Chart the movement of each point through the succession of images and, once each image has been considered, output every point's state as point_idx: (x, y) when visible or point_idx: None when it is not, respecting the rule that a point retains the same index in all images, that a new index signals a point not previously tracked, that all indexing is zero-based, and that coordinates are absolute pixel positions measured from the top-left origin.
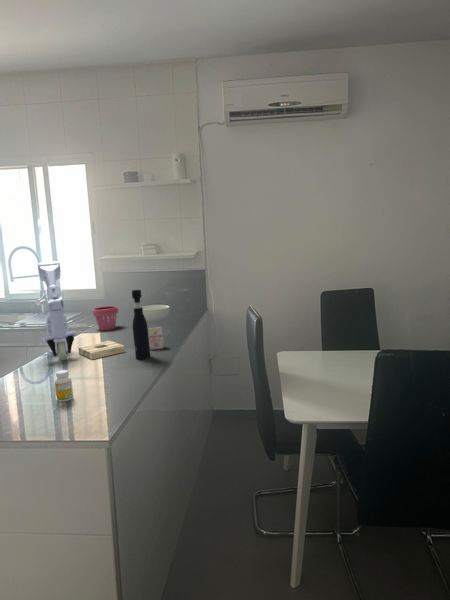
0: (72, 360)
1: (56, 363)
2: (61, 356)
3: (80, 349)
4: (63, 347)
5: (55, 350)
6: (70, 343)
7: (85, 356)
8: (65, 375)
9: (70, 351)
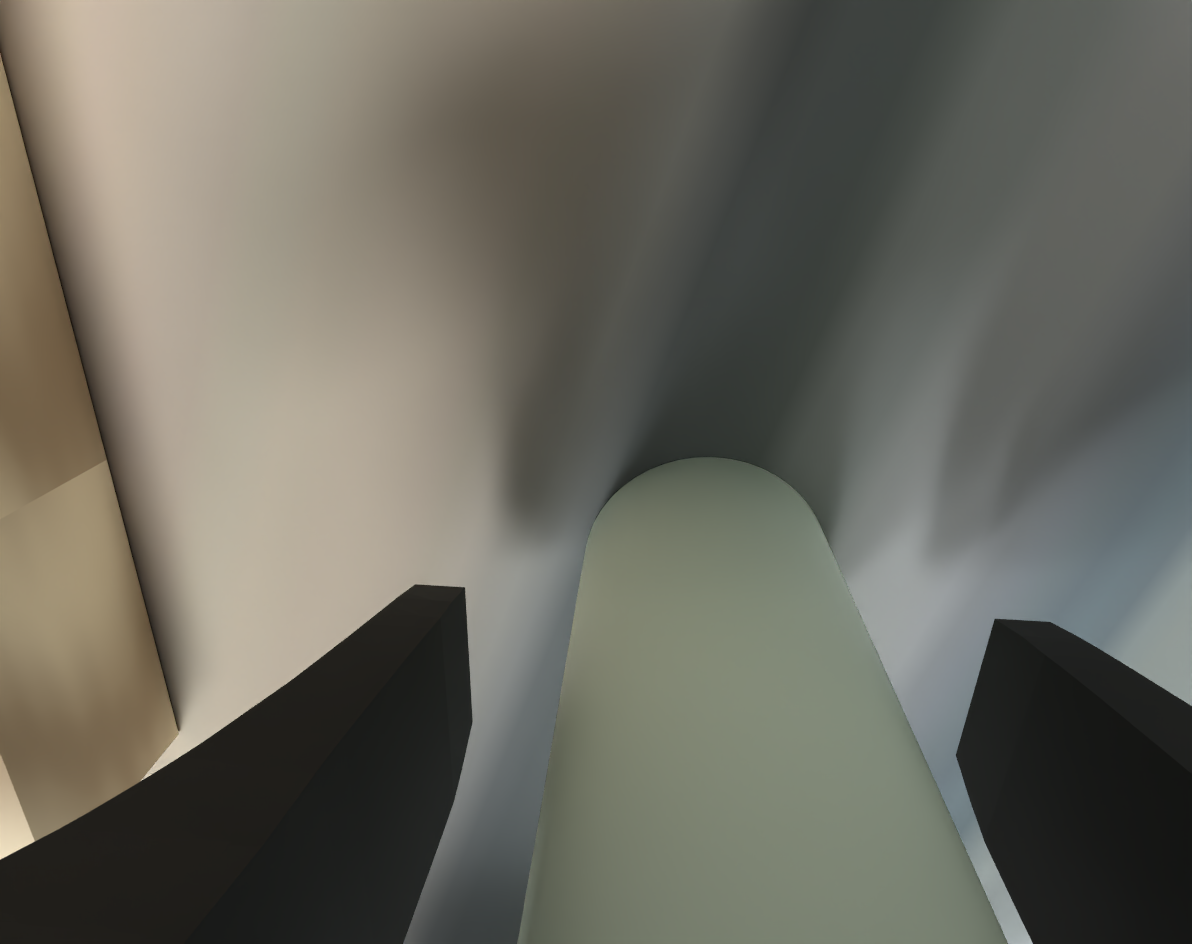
0: (544, 129)
1: (1102, 246)
2: (803, 537)
3: (32, 708)
4: (718, 771)
5: (1186, 765)
6: (143, 877)
7: (50, 250)
8: None
9: (405, 604)
